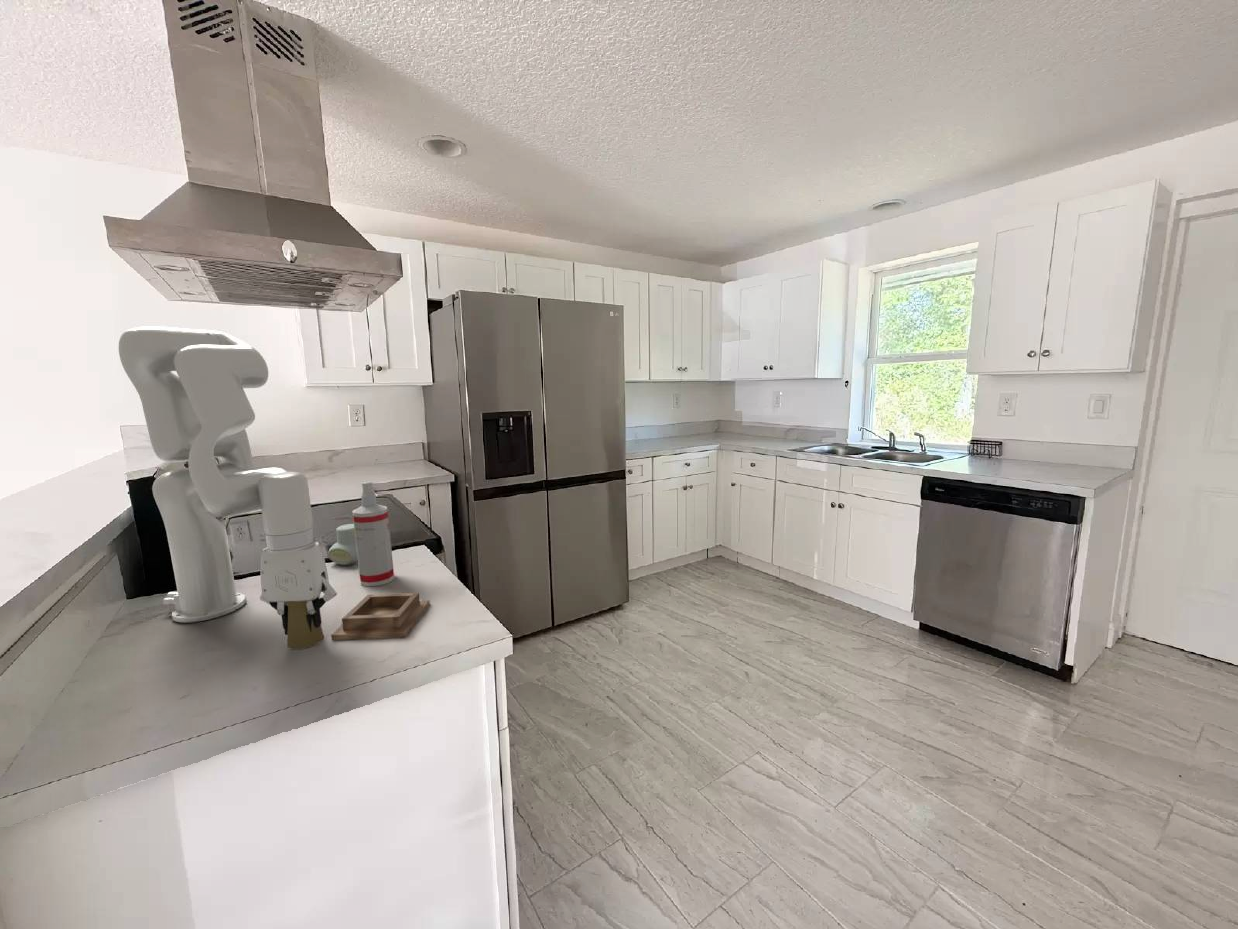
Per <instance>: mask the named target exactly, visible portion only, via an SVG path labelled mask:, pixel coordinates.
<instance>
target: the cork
mask: <svg viewBox="0 0 1238 929" xmlns="http://www.w3.org/2000/svg"><path fill="white" fill-rule="evenodd" d="M313 601H314V600H313ZM307 602H308V601H298V602H297V601H289V602H284V603H285V605H287V606H288V635H286V636H287V637H286V638H287V640H286V641H287V642H286V647H287V648H288V649H290V650H300V649H301V650H302V649H306V648H310V647H313V646H316V645H317V644H319V643H320V642H322V641H323V640H324V638H325V635H324V632H323V629H322V625H321V626H320V627H315V626H314V623H313V620H312V624H311V631H310V628H309V625H308V622H307V618H306V615H307V614H309V612H308V610H307V606H306V604H307Z"/></svg>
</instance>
